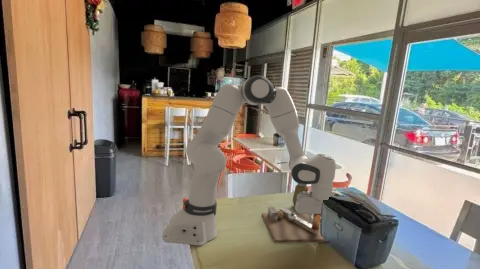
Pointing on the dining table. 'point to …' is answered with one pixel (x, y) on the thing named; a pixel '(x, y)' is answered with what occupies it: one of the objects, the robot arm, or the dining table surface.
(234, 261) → the dining table surface
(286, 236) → the walnut board
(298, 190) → the squeeze bottle
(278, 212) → the tan wooden ball
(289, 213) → the lever
